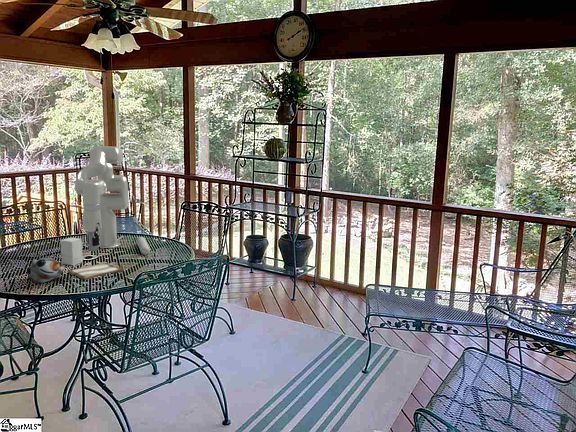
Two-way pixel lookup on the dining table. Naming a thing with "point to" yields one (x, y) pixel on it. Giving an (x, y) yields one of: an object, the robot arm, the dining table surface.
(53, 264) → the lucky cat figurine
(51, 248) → the dining table surface
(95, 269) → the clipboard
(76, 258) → the supplement box
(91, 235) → the marker
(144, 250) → the tube
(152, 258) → the dining table surface
